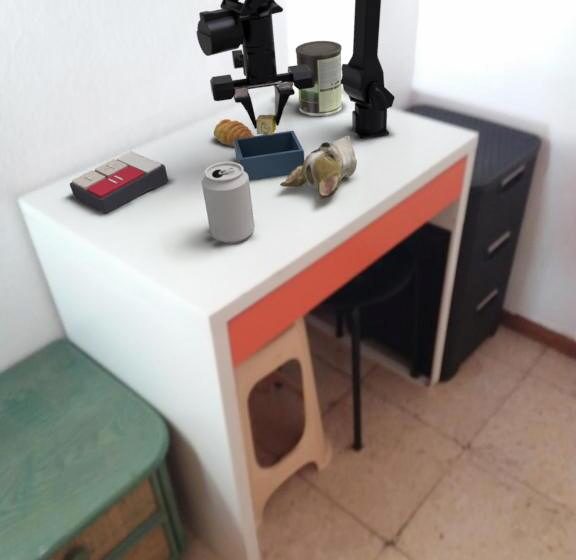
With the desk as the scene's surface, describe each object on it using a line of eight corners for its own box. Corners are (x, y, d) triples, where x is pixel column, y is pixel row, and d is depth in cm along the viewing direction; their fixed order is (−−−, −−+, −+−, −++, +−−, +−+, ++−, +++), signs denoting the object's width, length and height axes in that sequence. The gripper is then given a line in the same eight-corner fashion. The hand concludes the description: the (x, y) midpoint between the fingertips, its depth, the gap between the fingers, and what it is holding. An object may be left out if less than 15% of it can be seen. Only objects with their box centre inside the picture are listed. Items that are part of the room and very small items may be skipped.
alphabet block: (260, 128, 119) (259, 113, 117) (276, 129, 118) (275, 114, 116) (257, 135, 116) (255, 120, 114) (272, 135, 116) (271, 120, 114)
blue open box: (294, 151, 126) (293, 130, 123) (305, 172, 118) (303, 150, 115) (236, 159, 124) (233, 139, 122) (242, 181, 117) (239, 159, 114)
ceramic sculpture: (371, 133, 109) (320, 170, 101) (372, 175, 114) (324, 213, 106) (324, 121, 115) (273, 155, 107) (328, 162, 120) (279, 197, 112)
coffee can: (297, 117, 140) (293, 55, 132) (301, 100, 148) (297, 41, 140) (341, 116, 139) (340, 53, 130) (343, 99, 147) (342, 39, 139)
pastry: (262, 141, 131) (260, 124, 129) (238, 152, 127) (236, 135, 125) (234, 130, 137) (231, 114, 134) (210, 140, 133) (208, 124, 131)
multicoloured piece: (66, 180, 114) (130, 147, 122) (74, 199, 117) (136, 166, 125) (99, 196, 108) (164, 161, 116) (106, 216, 111) (169, 181, 119)
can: (211, 224, 105) (200, 161, 98) (254, 219, 105) (246, 156, 98) (210, 248, 99) (198, 182, 92) (256, 243, 99) (248, 177, 92)
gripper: (300, 24, 114) (304, 104, 124) (202, 37, 112) (214, 117, 122) (313, 40, 105) (317, 125, 115) (207, 54, 103) (220, 139, 113)
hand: (266, 126), depth 116 cm, fingers closed on alphabet block, 4 cm apart
